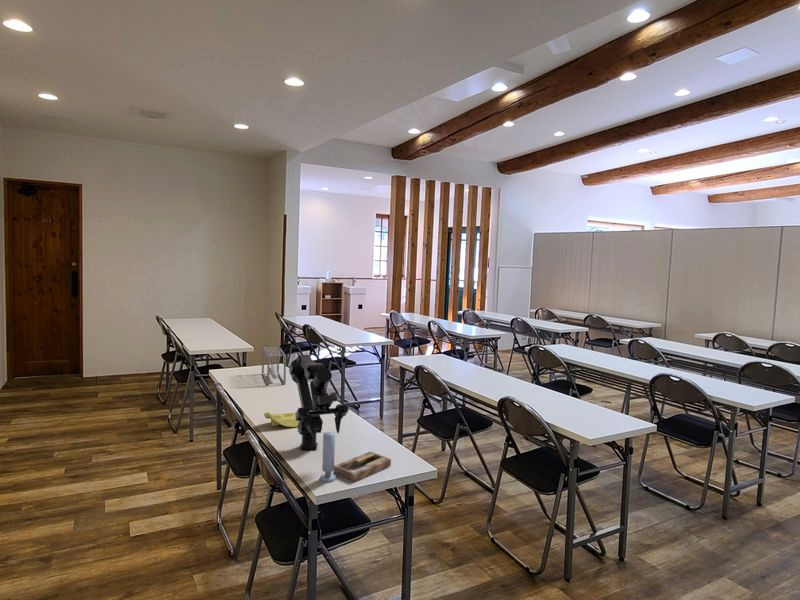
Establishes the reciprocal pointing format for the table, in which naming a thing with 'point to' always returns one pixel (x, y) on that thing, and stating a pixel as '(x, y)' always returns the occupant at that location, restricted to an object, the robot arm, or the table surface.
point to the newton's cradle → (272, 369)
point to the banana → (282, 419)
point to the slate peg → (328, 457)
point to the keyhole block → (372, 467)
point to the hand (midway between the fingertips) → (325, 434)
